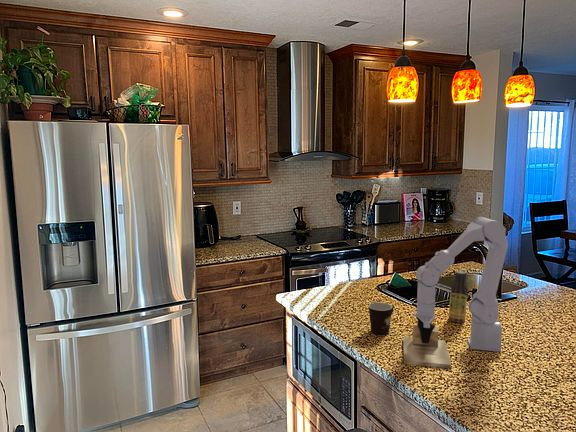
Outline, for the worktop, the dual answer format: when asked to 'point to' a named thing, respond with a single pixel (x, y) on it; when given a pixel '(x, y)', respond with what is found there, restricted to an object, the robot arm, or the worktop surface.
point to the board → (426, 354)
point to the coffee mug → (380, 318)
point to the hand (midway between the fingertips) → (424, 340)
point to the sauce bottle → (458, 298)
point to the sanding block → (418, 342)
